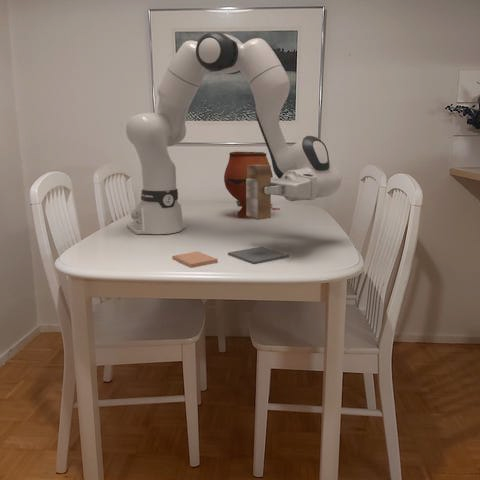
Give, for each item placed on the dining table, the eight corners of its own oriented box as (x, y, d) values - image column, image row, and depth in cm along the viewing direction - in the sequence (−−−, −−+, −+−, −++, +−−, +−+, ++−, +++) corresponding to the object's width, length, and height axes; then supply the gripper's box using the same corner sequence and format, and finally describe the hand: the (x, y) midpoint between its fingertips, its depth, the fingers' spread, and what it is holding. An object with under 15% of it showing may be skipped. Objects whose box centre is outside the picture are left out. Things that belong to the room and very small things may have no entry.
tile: (197, 256, 138) (172, 261, 133) (197, 251, 137) (172, 255, 133) (217, 264, 130) (191, 269, 125) (217, 259, 129) (191, 264, 125)
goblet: (256, 222, 182) (257, 154, 176) (214, 217, 192) (213, 152, 186) (280, 214, 198) (281, 151, 192) (239, 210, 208) (239, 150, 202)
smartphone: (252, 200, 233) (254, 205, 219) (252, 202, 233) (254, 207, 219) (236, 200, 233) (237, 205, 218) (236, 202, 233) (237, 207, 218)
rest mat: (227, 254, 137) (227, 252, 137) (261, 248, 144) (261, 246, 144) (254, 264, 128) (254, 262, 128) (288, 257, 135) (288, 254, 135)
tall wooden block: (245, 217, 134) (245, 165, 131) (259, 215, 137) (258, 164, 134) (257, 219, 130) (256, 166, 127) (270, 217, 133) (270, 165, 130)
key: (282, 211, 209) (276, 205, 224) (282, 209, 209) (276, 203, 224) (269, 210, 209) (263, 204, 223) (269, 208, 209) (264, 202, 223)
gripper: (271, 171, 147) (233, 174, 139) (320, 176, 131) (281, 180, 123) (271, 192, 148) (233, 196, 140) (320, 200, 132) (280, 205, 124)
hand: (256, 189), depth 131 cm, fingers closed on tall wooden block, 5 cm apart
